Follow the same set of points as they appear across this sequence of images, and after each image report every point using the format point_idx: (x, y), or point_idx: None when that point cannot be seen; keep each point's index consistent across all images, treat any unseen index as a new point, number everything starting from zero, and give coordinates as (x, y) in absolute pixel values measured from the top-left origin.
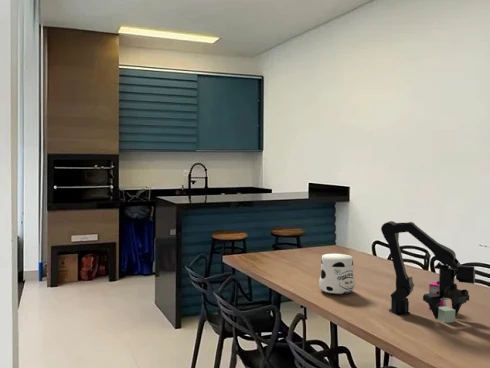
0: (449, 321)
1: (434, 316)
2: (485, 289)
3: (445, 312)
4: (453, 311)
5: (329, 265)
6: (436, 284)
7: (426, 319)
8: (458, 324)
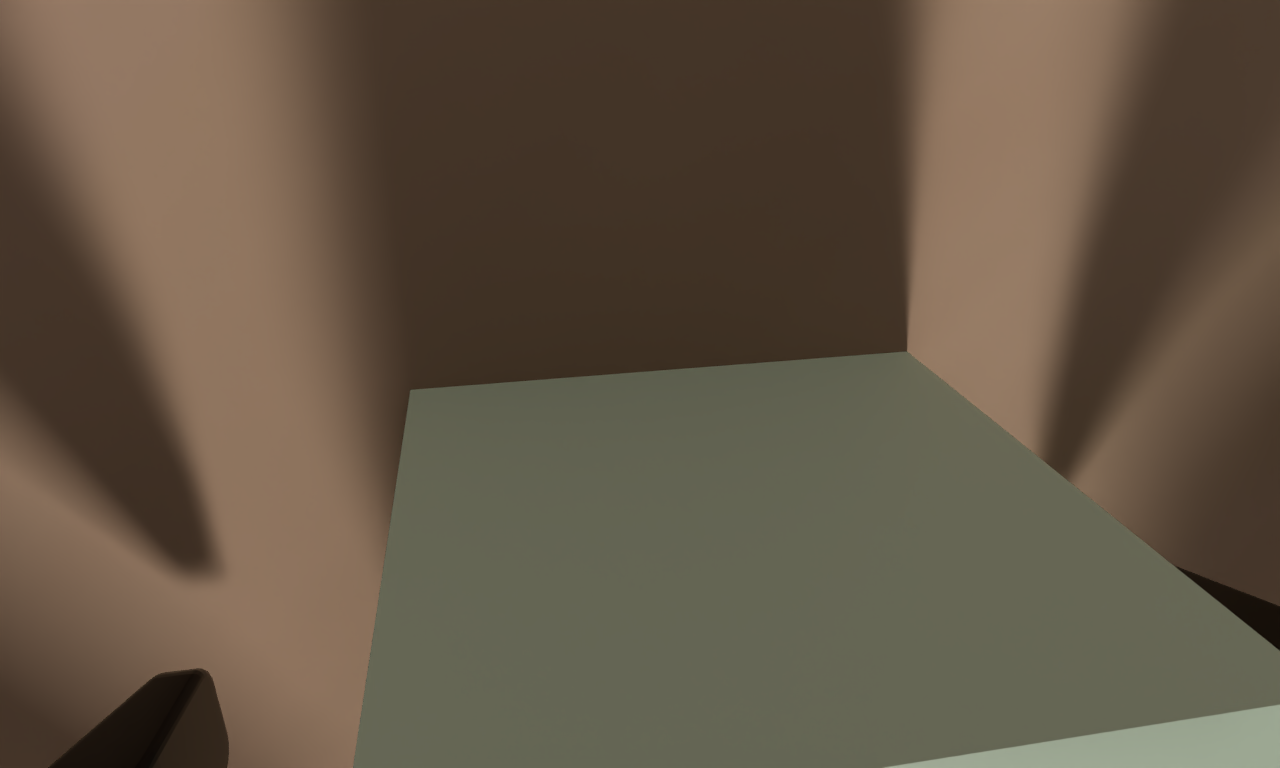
0: (706, 387)
1: None
2: None
3: (1233, 622)
4: (550, 720)
5: None
6: None
7: None
8: (489, 59)
